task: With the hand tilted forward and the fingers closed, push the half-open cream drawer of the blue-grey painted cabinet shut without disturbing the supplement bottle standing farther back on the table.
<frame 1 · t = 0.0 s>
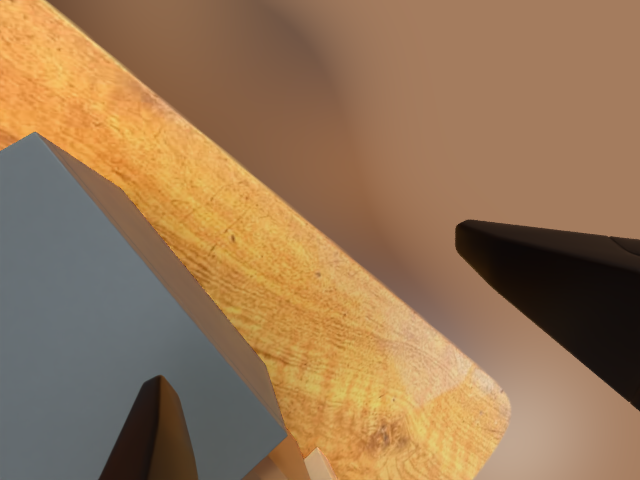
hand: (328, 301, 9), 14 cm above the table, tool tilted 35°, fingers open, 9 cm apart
cabinet: (107, 346, 21), on the table
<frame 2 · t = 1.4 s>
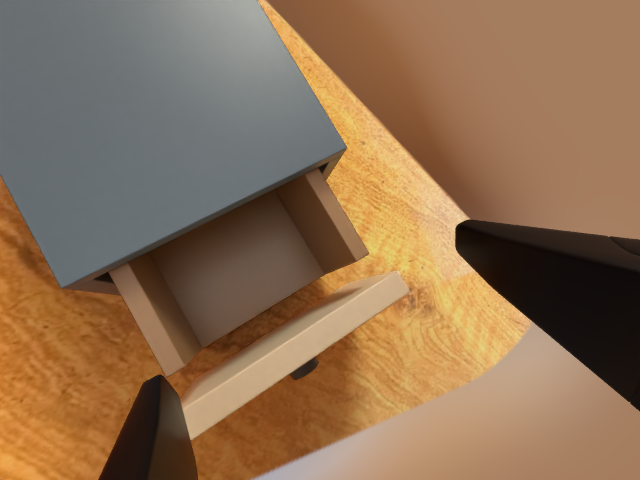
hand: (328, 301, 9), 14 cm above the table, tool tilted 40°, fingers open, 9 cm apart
drawer: (237, 250, 19), point 5 cm above the table, slide at 6.0 cm
cabinet: (177, 157, 24), on the table
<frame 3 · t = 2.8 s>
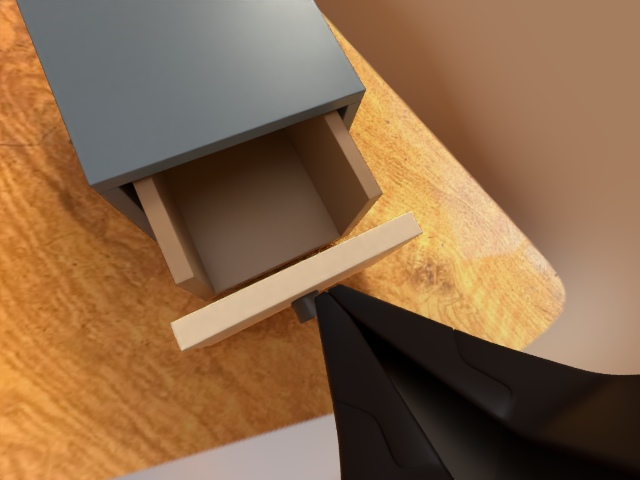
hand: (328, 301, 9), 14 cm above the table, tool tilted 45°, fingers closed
drawer: (255, 196, 19), point 5 cm above the table, slide at 6.0 cm
cabinet: (209, 123, 25), on the table
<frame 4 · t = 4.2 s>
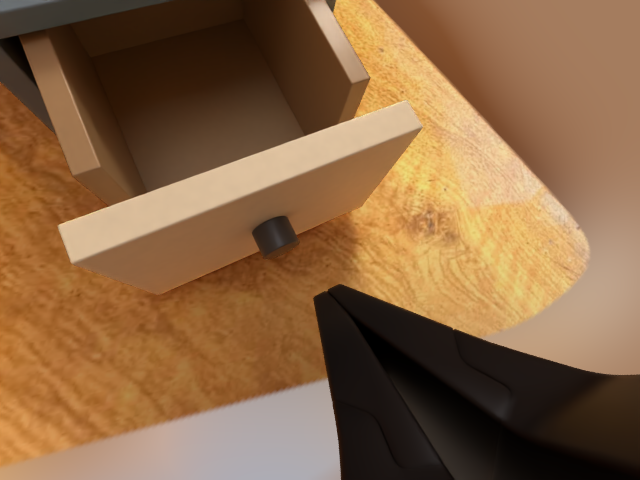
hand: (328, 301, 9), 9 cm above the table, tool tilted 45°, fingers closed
drawer: (210, 102, 15), point 5 cm above the table, slide at 6.0 cm
cabinet: (168, 41, 21), on the table
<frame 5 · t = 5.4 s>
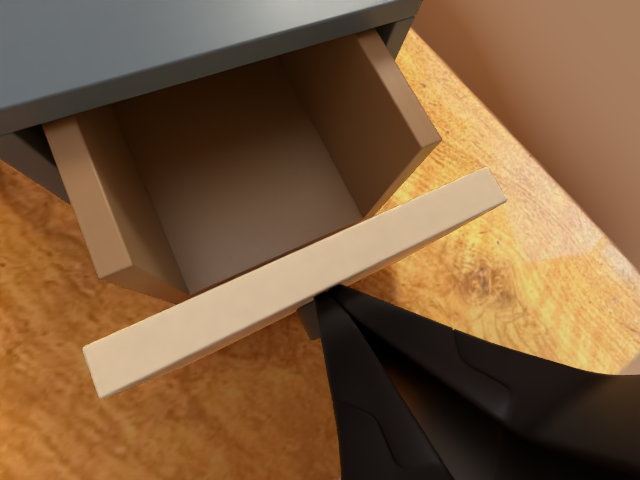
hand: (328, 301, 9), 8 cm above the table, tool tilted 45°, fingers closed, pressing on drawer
drawer: (246, 154, 13), point 5 cm above the table, slide at 5.4 cm, touching gripper
cabinet: (194, 81, 19), on the table
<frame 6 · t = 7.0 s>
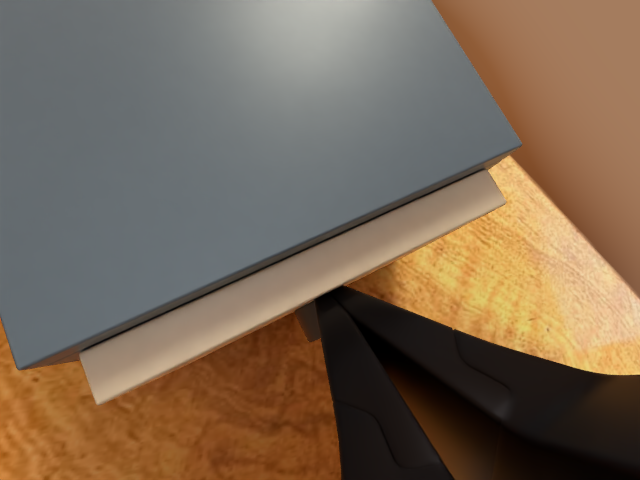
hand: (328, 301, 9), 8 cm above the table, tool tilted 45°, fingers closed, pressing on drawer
drawer: (243, 154, 13), point 5 cm above the table, slide at 0.0 cm, touching cabinet, gripper
cabinet: (230, 160, 18), on the table
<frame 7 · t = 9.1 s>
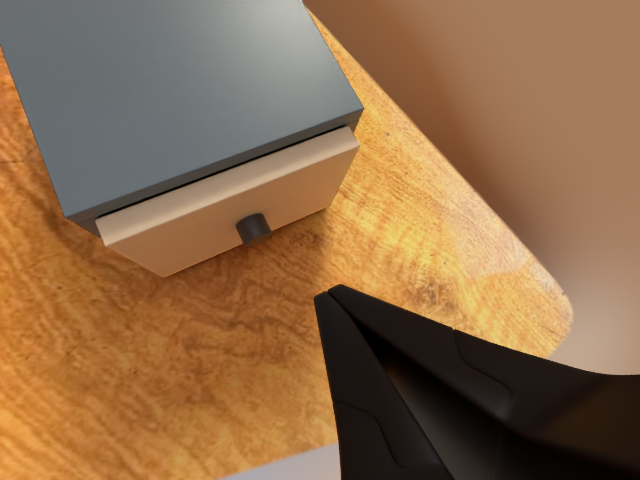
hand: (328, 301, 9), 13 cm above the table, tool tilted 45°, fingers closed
drawer: (203, 124, 19), point 5 cm above the table, slide at 0.0 cm, touching cabinet
cabinet: (202, 137, 24), on the table
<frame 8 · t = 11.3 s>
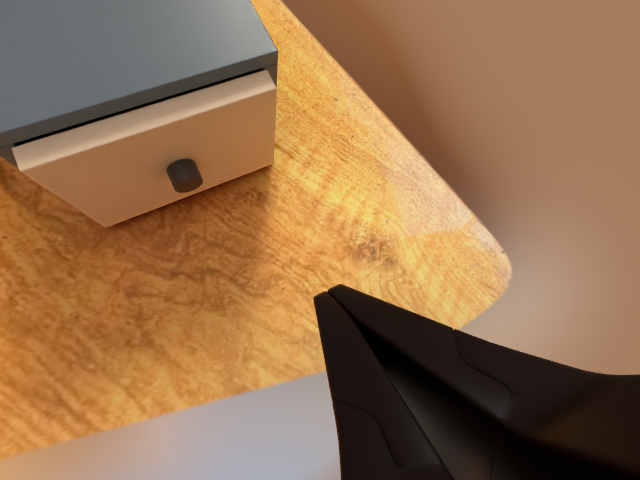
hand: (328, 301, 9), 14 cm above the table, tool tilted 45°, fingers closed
drawer: (140, 77, 20), point 5 cm above the table, slide at 0.0 cm, touching cabinet
cabinet: (151, 98, 25), on the table
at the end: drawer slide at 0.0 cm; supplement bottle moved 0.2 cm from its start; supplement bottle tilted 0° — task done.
